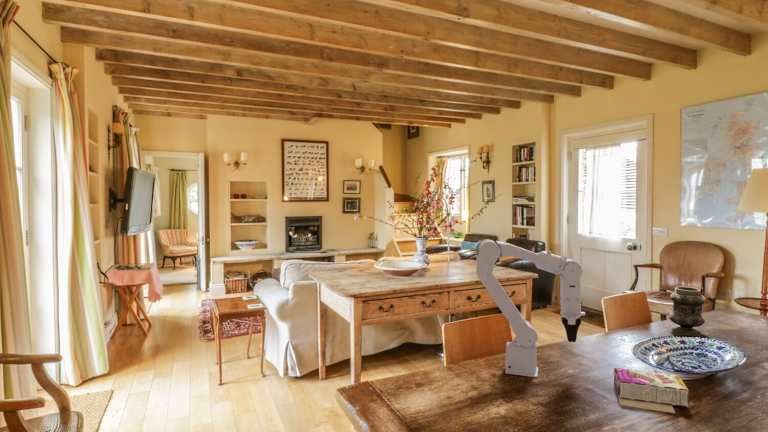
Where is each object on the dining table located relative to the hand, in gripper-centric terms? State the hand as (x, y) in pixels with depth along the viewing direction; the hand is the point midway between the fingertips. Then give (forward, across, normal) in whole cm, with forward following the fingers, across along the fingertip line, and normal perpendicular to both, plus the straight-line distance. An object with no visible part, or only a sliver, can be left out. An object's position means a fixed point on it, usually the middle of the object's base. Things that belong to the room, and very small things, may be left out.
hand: (571, 341), depth 138 cm
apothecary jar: (+13, +62, -44) cm, 77 cm away
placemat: (+11, -11, -18) cm, 24 cm away
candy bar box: (+8, -9, -11) cm, 16 cm away
